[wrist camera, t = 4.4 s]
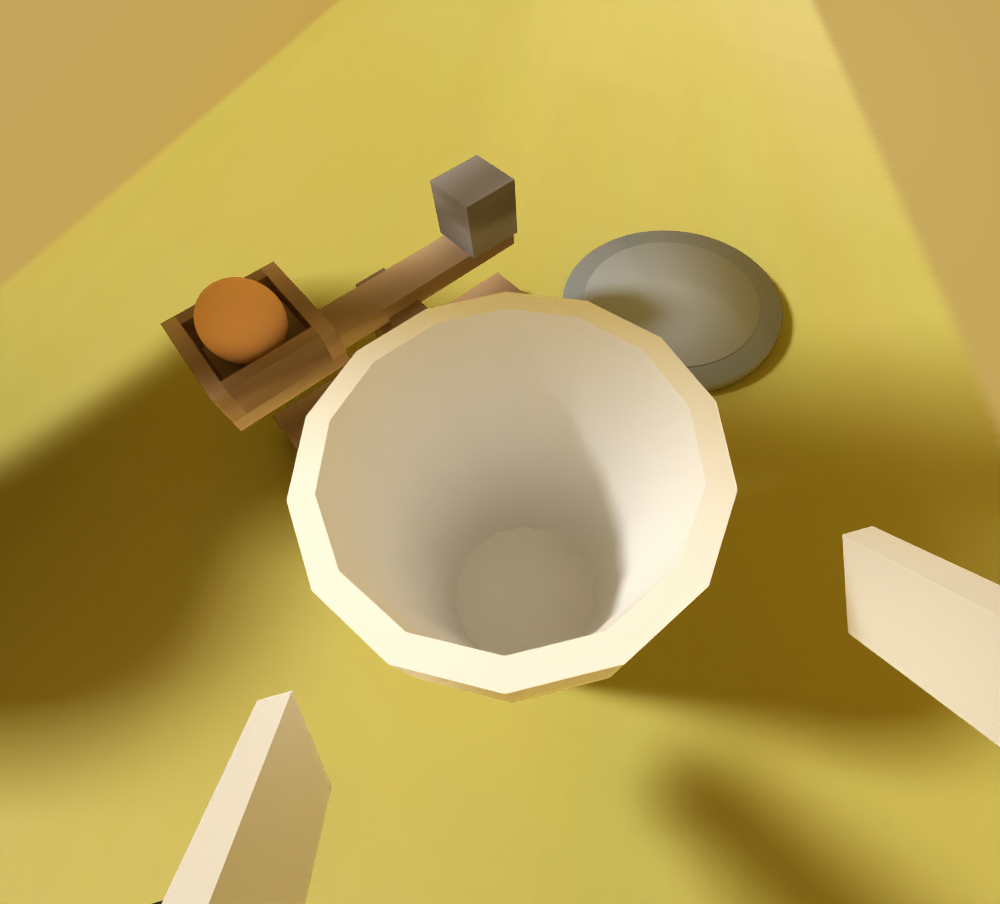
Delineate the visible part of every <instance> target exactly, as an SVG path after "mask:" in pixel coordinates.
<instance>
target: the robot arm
mask: <svg viewBox="0 0 1000 904" xmlns="http://www.w3.org/2000/svg"><path fill="white" fill-rule="evenodd" d="M842 538H843V555H844V572H845V589H846V606H847V623H848V633H849V634H850V635H851V636H853V637H854V638H855V639H857V640H858V641H859V642H861V643H862V644H863V645H865V646H866V647H867V648H869V649H870V650H871V651H873V652H874V653H875V654H877V655H878V656H879V657H881V658H882V659H883V660H885V661H886V662H887V663H889V664H890V665H891V666H893V667H894V668H895V669H897V670H898V671H899V672H901V673H902V674H903V675H905V676H906V677H907V678H909V679H910V680H911V681H913V682H914V683H915V684H917V685H918V686H919V687H921V688H922V689H923V690H925V691H926V692H927V693H929V694H930V695H931V696H933V697H934V698H935V699H937V700H938V701H939V702H941V703H942V704H943V705H945V706H946V707H947V708H949V709H950V710H951V711H953V712H954V713H955V714H957V715H958V716H959V717H961V718H962V719H963V720H965V721H966V722H967V723H969V724H970V725H971V726H973V727H974V728H975V729H977V730H978V731H979V732H981V733H982V734H983V735H985V736H986V737H987V738H989V739H990V740H991V741H993V742H994V743H995V744H997V745H998V746H999V747H1000V585H998V584H996V583H994V582H992V581H990V580H988V579H985V578H983V577H981V576H979V575H977V574H975V573H972V572H970V571H968V570H966V569H964V568H962V567H960V566H957V565H955V564H953V563H951V562H949V561H947V560H944V559H942V558H940V557H938V556H936V555H934V554H932V553H929V552H927V551H925V550H923V549H921V548H919V547H916V546H914V545H912V544H910V543H908V542H906V541H904V540H901V539H899V538H897V537H895V536H893V535H891V534H888V533H886V532H884V531H882V530H880V529H878V528H876V527H873V526H870V527H867V528H863V529H860V530H856V531H853V532H849V533H846V534H842ZM330 790H331V783H330V781H329V779H328V776H327V774H326V771H325V769H324V767H323V764H322V762H321V759H320V757H319V755H318V752H317V750H316V747H315V745H314V743H313V740H312V738H311V735H310V733H309V731H308V728H307V726H306V723H305V721H304V718H303V716H302V714H301V711H300V709H299V706H298V704H297V702H296V699H295V697H294V694H293V692H292V691H289V692H285V693H282V694H278V695H275V696H271V697H268V698H264V699H261V700H257V703H256V705H255V707H254V709H253V711H252V713H251V715H250V717H249V719H248V722H247V724H246V726H245V728H244V730H243V732H242V734H241V736H240V739H239V741H238V743H237V745H236V747H235V749H234V751H233V753H232V755H231V758H230V760H229V762H228V764H227V766H226V768H225V770H224V772H223V775H222V777H221V779H220V781H219V783H218V785H217V787H216V789H215V791H214V794H213V796H212V798H211V800H210V802H209V804H208V806H207V808H206V811H205V813H204V815H203V817H202V819H201V821H200V823H199V825H198V827H197V830H196V832H195V834H194V836H193V838H192V840H191V842H190V844H189V847H188V849H187V851H186V853H185V855H184V857H183V859H182V861H181V864H180V866H179V868H178V870H177V872H176V874H175V876H174V878H173V880H172V883H171V885H170V887H169V889H168V891H167V893H166V895H165V897H164V900H163V901H160V902H156V903H153V904H305V901H306V897H307V893H308V888H309V884H310V879H311V875H312V870H313V866H314V861H315V857H316V853H317V848H318V844H319V839H320V835H321V830H322V826H323V821H324V817H325V813H326V808H327V804H328V799H329V795H330Z"/></svg>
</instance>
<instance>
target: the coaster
mask: <svg viewBox="0 0 1000 904" xmlns="http://www.w3.org/2000/svg"><path fill="white" fill-rule="evenodd" d="M563 298H567V299H576V300H585V301H588V302H590V303H592V304H594V305H597V306H599V307H601V308H603V309H605V310H607V311H609V312H611V313H613V314H615V315H617V316H619V317H621V318H623V319H625V320H627V321H629V322H631V323H633V324H635V325H637V326H639V327H641V328H643V329H645V330H647V331H649V332H651V333H653V334H655V335H657V336H659V337H661V338H662V339H663V340H664V341H665V343H666V344H667V345H668V346H669V347H670V348H671V350H672V351H673V352H674V353H675V354H676V355H677V357H678V358H679V359H680V360H681V361H682V362H683V364H684V365H685V366H686V367H687V368H688V369H689V371H690V372H691V373H692V374H693V375H694V376H695V378H696V379H697V380H698V381H699V382H700V383H701V385H702V386H703V387H704V388H705V389H706V390H707V391H708V392H712V391H716V390H720V389H722V388H725V387H728V386H730V385H733V384H735V383H736V382H738V381H740V380H742V379H744V378H745V377H747V376H748V375H749V374H751V373H752V372H754V371H755V370H756V369H757V368H758V367H759V366H760V365H761V364H762V363H763V361H764V360H765V358H766V357H767V356H768V354H769V353H770V351H771V349H772V347H773V346H774V344H775V342H776V340H777V338H778V336H779V333H780V329H781V325H782V314H783V312H782V305H781V300H780V297H779V294H778V291H777V289H776V288H775V286H774V284H773V282H772V281H771V279H770V278H769V276H768V275H767V274H766V272H765V271H764V270H763V269H762V268H761V267H760V266H759V265H758V264H757V263H755V262H754V261H753V260H752V259H751V258H749V257H748V256H747V255H745V254H743V253H742V252H740V251H739V250H737V249H735V248H733V247H731V246H729V245H727V244H725V243H723V242H720V241H718V240H715V239H712V238H709V237H706V236H702V235H698V234H693V233H687V232H679V231H648V232H641V233H635V234H631V235H626V236H623V237H620V238H617V239H614V240H612V241H610V242H607V243H605V244H603V245H601V246H600V247H598V248H596V249H595V250H593V251H592V252H590V253H589V254H588V255H587V256H585V257H584V258H583V259H582V260H581V261H580V262H579V263H578V264H577V266H576V267H575V268H574V270H573V271H572V273H571V275H570V276H569V278H568V280H567V283H566V286H565V289H564V296H563Z"/></svg>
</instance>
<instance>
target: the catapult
mask: <svg viewBox="0 0 1000 904" xmlns="http://www.w3.org/2000/svg"><path fill="white" fill-rule="evenodd" d="M430 183H431V188H432V193H433V197H434V202H435V207H436V212H437V217H438V222H439V227H440V232H441V233H442V234H443V235H444V236H442V237H441V238H439V239H437V240H436V241H434V242H432V243H431V244H429V245H427V246H426V247H424V248H422V249H421V250H419V251H417V252H416V253H414V254H412V255H411V256H409V257H407V258H405V259H404V260H402V261H400V262H399V263H397V264H395V265H394V266H392V267H390V268H389V269H387V270H385V269H384V268H383V269H381V270H380V271H378V272H376V273H374V274H373V275H371V276H369V277H368V278H366V279H364V280H363V281H361V282H359V283H358V284H356V287H357V288H355V289H353V290H352V291H350V292H348V293H347V294H345V295H343V296H342V297H340V298H338V299H337V300H335V301H333V302H332V303H330V304H328V305H327V306H325V307H323V308H322V309H320V310H318V309H317V308H316V307H315V306H314V305H313V304H312V303H311V302H310V301H309V300H308V299H307V297H306V296H305V295H304V294H303V293H302V292H301V291H300V290H299V289H298V288H297V287H296V285H295V284H294V283H293V282H292V281H291V280H290V279H289V278H288V277H287V276H286V275H285V273H284V272H283V271H282V270H281V269H280V268H279V267H278V266H277V265H276V264H275V263H274V262H272V263H270V264H268V265H266V266H264V267H263V268H261V269H259V270H257V271H255V272H254V273H252V274H250V275H248V276H246V277H244V278H247V279H251V280H254V281H257V282H259V283H261V284H262V285H264V286H266V287H267V288H268V289H270V290H271V291H272V292H273V293H274V294H275V295H276V296H277V297H278V299H279V300H280V301H281V303H282V305H283V307H284V309H285V311H286V314H287V318H288V333H287V337H286V340H285V342H284V344H282V345H281V346H279V347H277V348H276V349H274V350H272V351H271V352H269V353H267V354H266V355H264V356H262V357H261V358H259V359H257V360H256V361H254V362H252V363H251V364H237V363H232V362H229V361H226V360H224V359H222V358H220V357H218V356H217V355H215V354H214V353H213V352H211V351H210V350H209V349H208V348H207V347H206V346H205V345H204V343H203V342H202V341H201V339H200V337H199V336H198V334H197V331H196V328H195V325H194V307H195V305H194V306H192V307H190V308H188V309H186V310H185V311H183V312H181V313H179V314H177V315H176V316H174V317H172V318H170V319H168V320H166V321H165V322H163V323H161V325H162V327H163V328H164V330H165V332H166V333H167V335H168V336H169V338H170V339H171V341H172V342H173V344H174V345H175V347H176V348H177V350H178V351H179V353H180V354H181V356H182V357H183V359H184V360H185V362H186V363H187V365H188V366H189V368H190V369H191V371H192V372H193V374H194V375H195V377H196V378H197V380H198V381H199V383H200V384H201V386H202V387H203V389H204V390H205V392H206V393H207V395H208V397H209V398H210V400H211V401H212V402H213V403H214V404H215V405H216V406H217V407H218V408H219V409H220V410H221V411H222V412H223V413H224V414H225V415H226V416H227V417H228V418H229V419H230V420H231V421H232V422H233V424H234V425H235V426H236V427H237V428H238V429H239V430H240V431H242V430H244V429H246V428H247V427H249V426H250V425H252V424H253V423H255V422H257V421H258V420H260V419H261V418H263V417H264V416H266V415H267V414H269V413H271V412H272V411H274V410H275V409H277V408H278V407H280V406H282V405H283V404H285V403H286V402H288V401H289V400H291V399H293V398H294V397H296V396H297V395H299V394H300V393H302V392H304V391H305V390H307V389H308V388H310V387H311V386H313V385H314V384H316V383H318V382H319V381H321V380H322V379H324V378H325V377H327V376H329V375H330V374H332V373H333V372H335V371H336V370H338V369H340V368H341V367H343V366H344V365H346V364H347V363H348V361H349V360H350V358H349V356H348V354H347V352H346V350H345V349H347V348H348V347H350V346H352V345H353V344H355V343H356V342H358V341H360V340H361V339H363V338H364V337H366V336H368V335H369V334H371V333H372V332H374V331H375V333H376V335H377V338H379V337H381V336H382V335H384V334H385V333H387V332H389V331H390V330H392V329H394V328H395V327H397V326H399V325H400V324H402V323H404V322H405V321H407V320H409V319H410V318H412V317H414V316H415V315H417V314H419V313H420V312H422V311H423V310H425V309H428V308H427V307H426V306H425V305H424V304H422V303H421V302H422V301H423V300H425V299H426V298H428V297H430V296H431V295H433V294H434V293H436V292H438V291H439V290H441V289H442V288H444V287H445V286H447V285H449V284H450V283H452V282H453V281H455V280H457V279H458V278H460V277H461V276H463V275H465V274H466V273H468V272H469V271H471V270H472V269H474V268H476V267H477V266H479V265H480V264H482V263H484V262H485V261H487V260H488V259H490V258H492V257H493V256H495V255H496V254H498V253H500V252H501V251H503V250H504V249H506V248H507V247H509V246H511V245H512V244H514V236H513V234H515V233H517V219H516V200H515V181H514V179H513V178H511V177H510V176H508V175H507V174H505V173H504V172H502V171H501V170H499V169H497V168H496V167H494V166H493V165H491V164H490V163H488V162H487V161H485V160H484V159H482V158H481V157H479V156H478V155H476V156H474V157H472V158H470V159H469V160H467V161H465V162H463V163H461V164H460V165H458V166H456V167H454V168H452V169H450V170H449V171H447V172H445V173H443V174H441V175H440V176H438V177H436V178H434V179H432V180H431V181H430ZM502 292H514V293H523V292H522V291H520V290H519V289H518V288H517V287H515V286H514V285H513V284H511V283H510V282H509V281H508V280H506V279H505V278H504V277H503V276H501V275H500V274H499V273H496V274H495V275H493V276H491V277H490V278H488V279H487V280H485V281H484V282H482V283H481V284H479V285H477V286H476V287H474V288H473V289H471V290H470V291H468V292H467V293H465V294H463V295H462V296H460V297H459V298H457V299H456V300H454V301H453V302H451V303H455V302H460V301H465V300H469V299H474V298H479V297H483V296H488V295H492V294H497V293H502ZM523 294H524V293H523ZM451 303H449V304H451ZM337 376H338V375H337ZM337 376H336V377H337ZM336 377H334V378H332V379H331V380H329V381H328V382H326V383H325V384H323V385H322V386H320V387H318V388H317V389H315V390H314V391H312V392H311V393H309V394H308V395H306V396H304V397H303V398H301V399H300V400H298V401H297V402H295V403H294V404H292V405H290V406H289V407H287V408H286V409H284V410H283V411H281V412H279V413H278V414H276V415H275V416H273V418H274V419H275V421H276V422H277V423H278V425H279V426H280V428H281V429H282V430H283V432H284V433H285V434H286V436H287V437H288V439H289V440H290V441H291V443H292V444H293V445H294V447H295V448H296V450H297V451H298V448H299V444H300V440H301V435H302V431H303V427H304V422H305V418H306V416H307V414H308V413H309V412H310V411H311V409H312V408H313V407H314V405H315V404H316V403H317V401H318V400H319V399H320V398H321V396H322V395H323V394H324V392H325V391H326V390H327V389H328V387H329V386H330V385H331V383H332V382H333V381H334V379H335V378H336Z"/></svg>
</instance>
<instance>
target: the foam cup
mask: <svg viewBox="0 0 1000 904" xmlns="http://www.w3.org/2000/svg"><path fill="white" fill-rule="evenodd" d="M737 490H738V489H737V485H736V481H735V476H734V472H733V468H732V464H731V460H730V456H729V452H728V447H727V443H726V439H725V435H724V431H723V427H722V423H721V419H720V414H719V410H718V406H717V402H716V401H715V400H714V398H713V397H712V396H711V395H710V394H709V393H708V391H707V390H706V389H705V388H704V387H703V386H702V385H701V383H700V382H699V381H698V380H697V379H696V378H695V376H694V375H693V374H692V373H691V372H690V371H689V369H688V368H687V367H686V366H685V365H684V364H683V362H682V361H681V360H680V359H679V358H678V357H677V355H676V354H675V353H674V352H673V351H672V350H671V348H670V347H669V346H668V345H667V344H666V343H665V341H664V340H663V339H662V338H661V337H659V336H657V335H655V334H653V333H651V332H649V331H647V330H645V329H643V328H641V327H639V326H637V325H635V324H633V323H631V322H629V321H627V320H625V319H623V318H621V317H619V316H617V315H615V314H613V313H611V312H609V311H607V310H605V309H603V308H601V307H599V306H597V305H594V304H592V303H590V302H588V301H585V300H576V299H567V298H558V297H549V296H540V295H531V294H523V293H514V292H502V293H497V294H492V295H488V296H483V297H479V298H474V299H469V300H465V301H460V302H455V303H451V304H446V305H441V306H437V307H432V308H428V309H425V310H423V311H422V312H420V313H419V314H417V315H415V316H414V317H412V318H410V319H409V320H407V321H405V322H404V323H402V324H400V325H399V326H397V327H395V328H394V329H392V330H390V331H389V332H387V333H385V334H384V335H382V336H381V337H379V338H377V339H376V340H374V341H372V342H371V343H369V344H367V345H366V346H364V347H362V348H361V349H359V350H357V351H356V352H355V354H354V355H353V356H352V358H351V359H350V360H349V361H348V363H347V364H346V365H345V367H344V368H343V369H342V370H341V372H340V373H339V374H338V376H337V377H336V378H335V379H334V381H333V382H332V383H331V385H330V386H329V387H328V389H327V390H326V391H325V392H324V394H323V395H322V396H321V398H320V399H319V400H318V401H317V403H316V404H315V405H314V407H313V408H312V409H311V411H310V412H309V413H308V414H307V416H306V418H305V422H304V427H303V431H302V435H301V440H300V444H299V448H298V453H297V457H296V461H295V466H294V470H293V474H292V479H291V483H290V487H289V492H288V496H287V500H286V501H287V504H288V508H289V511H290V515H291V518H292V522H293V526H294V529H295V533H296V536H297V540H298V543H299V547H300V551H301V554H302V558H303V561H304V565H305V568H306V572H307V576H308V579H309V583H310V586H311V590H312V591H313V592H314V593H315V594H316V595H317V596H318V597H319V598H320V599H321V600H322V601H323V602H324V603H325V604H326V605H327V606H328V607H329V608H330V609H331V610H332V611H333V612H335V613H336V614H337V615H338V616H339V617H340V618H341V619H342V620H343V621H344V622H345V623H346V624H347V625H348V626H349V627H350V628H351V629H352V630H353V631H354V632H355V633H356V634H357V635H358V636H360V637H361V638H362V639H363V640H364V641H365V642H366V643H367V644H368V645H369V646H370V647H371V648H372V649H373V650H374V651H375V652H376V653H377V654H378V655H379V656H380V657H381V658H382V659H383V660H384V661H386V662H387V663H388V664H389V665H391V666H393V667H395V668H397V669H399V670H401V671H403V672H405V673H408V674H410V675H412V676H414V677H416V678H419V679H423V680H426V681H430V682H434V683H438V684H442V685H446V686H450V687H454V688H457V689H461V690H465V691H469V692H473V693H477V694H481V695H485V696H488V697H492V698H496V699H500V700H504V701H508V702H516V701H520V700H524V699H528V698H532V697H536V696H540V695H544V694H548V693H552V692H556V691H560V690H564V689H568V688H572V687H576V686H580V685H584V684H588V683H592V682H596V681H600V680H604V679H608V678H610V677H611V676H612V675H613V674H615V673H616V672H617V671H618V670H619V669H620V668H621V667H622V666H623V665H624V664H625V663H626V662H627V661H629V660H630V659H631V658H632V657H633V656H634V655H635V654H636V653H637V652H638V651H639V650H640V649H641V648H643V647H644V646H645V645H646V644H647V643H648V642H649V641H650V640H651V639H652V638H653V637H654V636H655V635H657V634H658V633H659V632H660V631H661V630H662V629H663V628H664V627H665V626H666V625H667V624H668V623H669V622H671V621H672V620H673V619H674V618H675V617H676V616H677V615H678V614H679V613H680V612H681V611H682V610H683V609H685V608H686V607H687V606H688V605H689V604H690V603H691V602H692V601H693V600H694V599H695V598H696V597H697V596H699V595H700V594H701V593H702V592H703V591H704V590H705V589H706V588H707V587H708V586H709V584H710V580H711V577H712V574H713V570H714V567H715V564H716V560H717V557H718V554H719V550H720V547H721V544H722V540H723V537H724V534H725V530H726V527H727V524H728V520H729V517H730V514H731V510H732V507H733V504H734V500H735V497H736V494H737Z"/></svg>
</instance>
